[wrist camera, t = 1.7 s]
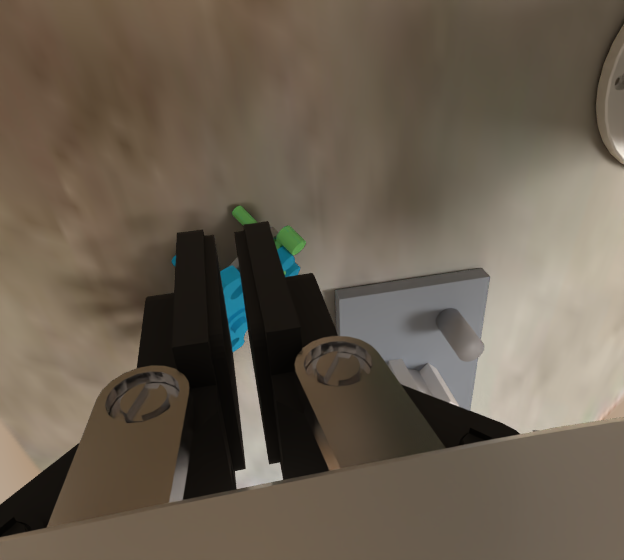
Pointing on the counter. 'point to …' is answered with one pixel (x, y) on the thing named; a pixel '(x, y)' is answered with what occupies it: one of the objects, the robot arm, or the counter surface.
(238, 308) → the gear
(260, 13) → the counter surface
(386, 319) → the carrier plate
